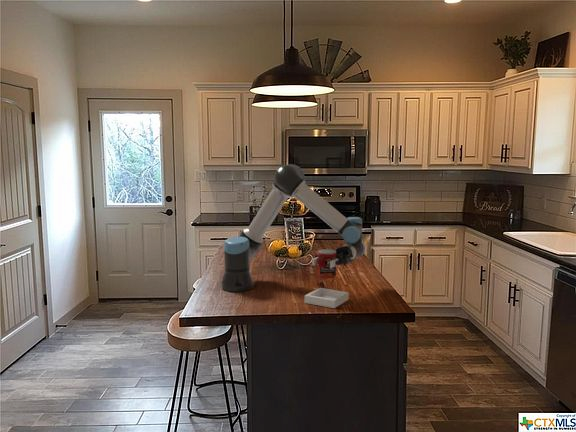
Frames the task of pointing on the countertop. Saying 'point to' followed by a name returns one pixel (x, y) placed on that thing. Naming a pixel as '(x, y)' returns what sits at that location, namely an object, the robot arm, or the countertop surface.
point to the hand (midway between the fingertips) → (321, 263)
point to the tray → (327, 297)
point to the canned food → (326, 263)
